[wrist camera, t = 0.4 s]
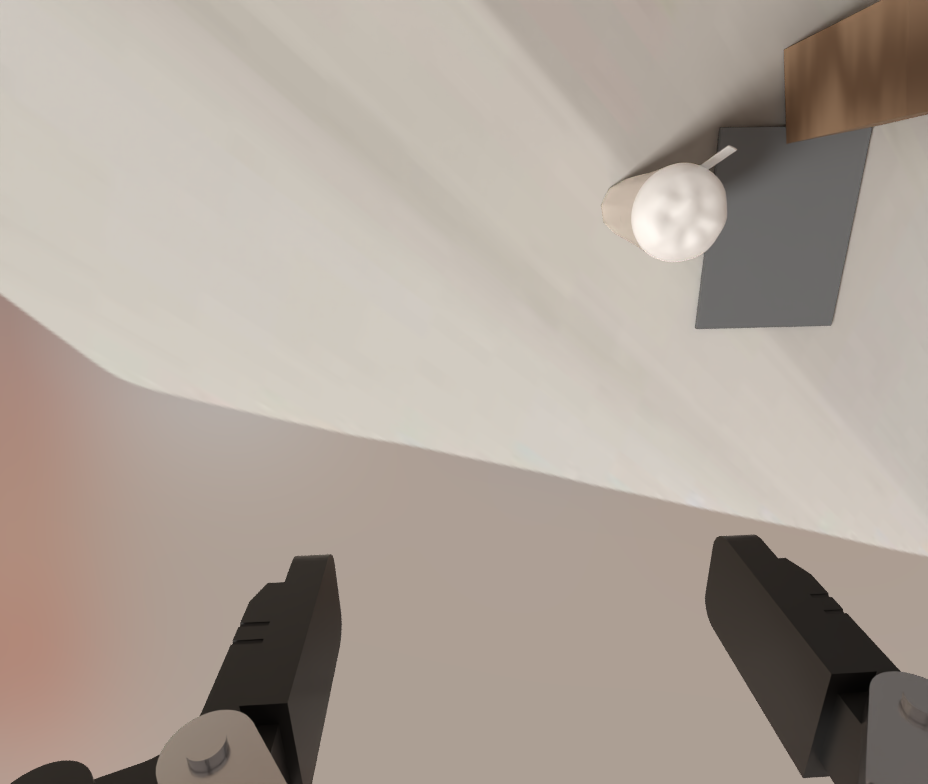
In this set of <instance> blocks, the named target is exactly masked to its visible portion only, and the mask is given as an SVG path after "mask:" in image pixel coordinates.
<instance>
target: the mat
mask: <svg viewBox="0 0 928 784" xmlns="http://www.w3.org/2000/svg"><path fill="white" fill-rule="evenodd" d="M871 131H872V127H869V128H864V129H859V130H854V131H849V132H844V133H839V134H834V135H829V136H824V137H819V138H814V139H809V140H803V141H798V142H793V143H788V144H786V127H723V128H720V131H719V139H718V147H717V153H718V152H719V151H721V150H722V149H724V148H725V147H727V146H728V145H730V146H732V147H734V148H736V149H737V151H735V152H734V153H732V154H731V155H730V156H728V157H727V158H725V159H724V160H722V161H721V162H719V163H718V164H716V165H715V172H714V174H715V175H716V176H717V177H718V179H719V180H720V181H721V183H722V184H723V186H724V189H725V192H726V200H727V220H726V223H725V225H724V227H723V229H722V231H721V232H720V234H719V236H718V237H717V239H716V240H715V242H714V243H713V244H712V246H711V247H710V248H709V249H708V250H707V251H705V252H704V260H703V268H702V276H701V284H700V292H699V300H698V308H697V316H696V324H695V328H696V329H717V328H757V327H797V326H831V325H832V320H833V315H834V310H835V305H836V300H837V295H838V291H839V286H840V281H841V276H842V271H843V266H844V262H845V257H846V252H847V247H848V242H849V237H850V233H851V228H852V223H853V218H854V213H855V208H856V203H857V199H858V194H859V189H860V184H861V179H862V174H863V170H864V165H865V160H866V155H867V150H868V145H869V141H870V136H871Z"/></svg>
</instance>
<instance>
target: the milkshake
mask: <svg viewBox="0 0 928 784" xmlns="http://www.w3.org/2000/svg"><path fill="white" fill-rule="evenodd" d="M735 151H737V149H736V148H734V147H732V146H730V145H728V146H727V147H725V148H724V149H722V150H721V151H719V152H718V153H717V154H715V155H714V156H712V157H711V158H709V159H708V160H707V161H705V162H704V163H702V164H701V165H697V164H693V163H676V164H672V165H669V166H666V167H663V168H661V169H658V170H655V171H653V172H649V173H645V174H642V175H638V176H634V177H631V178H627V179H624V180H622V181H621V182H619V183H617V184H616V185H614V186H612V187H611V188H609V189H608V191H607V193H606V196H605V198H604V200H603V202H602V204H601V210H602V217H603V222H604V223H605V224H606V225H607V226H608V227H609V228H610V229H611V230H612V231H613V232H614V233H615V234H616V235H618V236H620V237H621V238H623V239H625V240H627V241H628V242H630V243H632V244H634V245H636V246H637V247H639V248H640V249H642V250H643V251H644V252H646V253H647V254H649V255H650V256H652V257H654V258H656V259H659V260H662V261H667V262H680V261H685V260H689V259H692V258H695V257H697V256H699V255H701V254H702V253H704V252H705V251H707V250H708V249H709V248H710V247H711V246H712V244H713V243H714V242H715V240H716V239H717V237H718V236H719V234H720V232H721V231H722V229H723V227H724V225H725V223H726V220H727V200H726V192H725V189H724V186H723V184H722V183H721V181H720V180H719V179H718V177H717V176H716V175H715V174H713V173H712V172H711V171H710V170H709V169H710V168H712V167H713V166H715V165H716V164H718V163H719V162H721V161H722V160H724V159H725V158H727V157H728V156H730V155H731V154H732V153H734V152H735Z"/></svg>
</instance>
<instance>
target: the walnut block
mask: <svg viewBox="0 0 928 784" xmlns="http://www.w3.org/2000/svg"><path fill="white" fill-rule="evenodd" d="M784 71H785V108H786V144H788V143H793V142H798V141H803V140H809V139H814V138H819V137H824V136H829V135H834V134H839V133H844V132H849V131H854V130H859V129H864V128H869V127H874V126H878V125H882V124H887V123H891V122H896V121H900V120H904V119H909V118H913V117H918V116H922V115H926V114H928V0H881V1H879V2H877V3H875V4H873V5H871V6H869V7H867V8H865V9H863V10H861V11H859V12H857V13H855V14H853V15H851V16H850V17H848V18H846V19H844V20H842V21H840V22H838V23H836V24H834V25H832V26H830V27H828V28H826V29H824V30H822V31H820V32H818V33H816V34H814V35H812V36H810V37H808V38H806V39H804V40H802V41H800V42H798V43H796V44H794V45H792V46H790V47H788V48H786V49H785V50H784Z"/></svg>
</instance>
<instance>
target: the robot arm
mask: <svg viewBox="0 0 928 784" xmlns="http://www.w3.org/2000/svg"><path fill="white" fill-rule="evenodd" d="M705 604H706V610H707V615H708V618H709V621H710V623H711V625H712V627H713V629H714V631H715V632H716V634H717V636H718V637H719V639H720V641H721V642H722V644H723V646H724V647H725V649H726V651H727V652H728V654H729V656H730V657H731V659H732V661H733V662H734V664H735V665H736V667H737V669H738V671H739V672H740V674H741V676H742V677H743V679H744V681H745V682H746V684H747V686H748V687H749V689H750V691H751V692H752V694H753V695H754V697H755V699H756V701H757V702H758V704H759V706H760V707H761V709H762V711H763V712H764V714H765V716H766V717H767V719H768V721H769V722H770V724H771V726H772V727H773V729H774V730H775V732H776V734H777V735H778V737H779V739H780V740H781V742H782V744H783V746H784V747H785V749H786V751H787V752H788V754H789V755H790V757H791V759H792V760H793V762H794V764H795V765H796V767H797V769H798V770H799V772H800V773H801V775H802V777H803V778H810V777H826V776H830V777H831V779H832V781H833V782H834V784H928V679H926V678H923V677H920V676H917V675H914V674H910V673H905V672H901V671H900V670H899V669H898V668H897V667H896V666H895V665H894V664H893V663H892V662H891V661H890V660H889V658H888V657H887V656H886V655H885V654H884V653H883V652H882V651H881V650H880V649H879V648H878V647H877V645H875V643H874V642H873V641H872V640H871V639H870V638H869V637H868V636H867V635H866V633H865V632H864V631H863V630H862V629H861V628H860V627H859V626H858V625H857V624H856V623H855V622H854V621H853V619H852V618H851V617H850V616H849V615H848V614H847V613H844V612H843V609H842V608H841V606H840V605H839V604H838V603H837V602H836V601H835V600H834V599H833V598H832V597H829V596H828V592H827V591H826V590H825V589H824V588H823V587H822V586H821V585H820V584H819V583H818V581H817V580H816V579H815V578H814V577H813V576H812V575H811V574H809V573H808V572H807V571H805V570H804V569H802V568H800V567H799V566H797V565H796V564H794V563H792V562H791V561H789V560H788V559H786V558H777V557H776V555H775V554H774V553H773V552H772V551H771V550H770V549H769V548H768V546H767V545H766V544H765V543H764V542H763V541H762V539H761V538H759V537H758V536H757V535H737V536H719V537H717V538H716V540H715V541H714V544H713V549H712V556H711V562H710V568H709V575H708V582H707V587H706V594H705ZM341 622H342V621H341V609H340V601H339V594H338V586H337V578H336V571H335V564H334V558H333V556H332V555H331V554H330V555H310V556H295V557H294V559H293V561H292V563H291V566H290V569H289V572H288V574H287V577H286V580H285V582H281V583H268V584H267V585H265V586H264V587H263V589H262V590H261V591H260V592H259V593H258V594H257V595H256V596H255V597H254V598H253V599H252V600H251V601H250V602H249V604H248V607H247V609H246V611H245V613H244V616H243V618H242V620H241V623H240V627H238V630H237V632H236V634H235V636H234V639H233V644H232V645H231V646H230V648H229V650H228V653H227V655H226V657H225V660H224V662H223V664H222V667H221V669H220V671H219V673H218V676H217V678H216V680H215V683H214V685H213V687H212V690H211V692H210V694H209V696H208V699H207V701H206V704H205V706H204V708H203V710H202V713H201V715H200V716H199V717H197V718H195V719H193V720H192V721H190V722H189V723H187V724H185V725H184V726H183V727H182V728H180V729H179V730H178V731H177V732H176V733H175V734H174V735H173V736H172V737H171V738H170V740H169V741H168V742H167V743H166V745H165V746H164V748H163V750H162V751H161V754H160V755H158V756H156V757H154V758H152V759H150V760H148V761H145V762H143V763H140V764H137V765H134V766H131V767H128V768H126V769H123V770H120V771H117V772H114V773H111V774H108V775H105V776H102V777H100V778H97V779H93V776H92V774H91V772H90V770H89V769H88V767H86V766H85V765H84V764H82V763H79V762H77V761H58V762H53V763H49V764H46V765H43V766H41V767H38V768H36V769H34V770H32V771H30V772H28V773H26V774H24V775H22V776H21V777H20V778H18V779H16V780H15V781H13V782H12V783H11V784H312V780H313V775H314V770H315V766H316V761H317V755H318V751H319V746H320V741H321V736H322V731H323V726H324V721H325V716H326V711H327V706H328V701H329V697H330V691H331V686H332V681H333V677H334V672H335V667H336V662H337V657H338V653H339V648H340V641H341V625H342V623H341Z"/></svg>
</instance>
